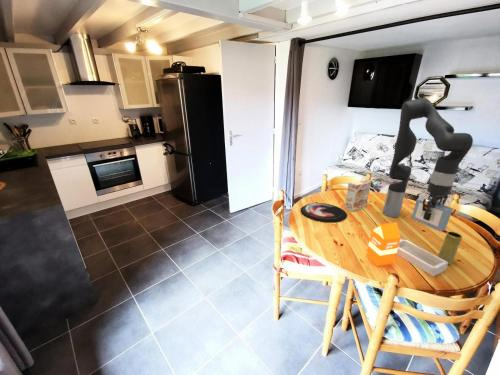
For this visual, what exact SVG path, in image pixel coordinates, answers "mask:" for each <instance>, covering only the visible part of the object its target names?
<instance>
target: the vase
mask: <svg viewBox="0 0 500 375" xmlns="http://www.w3.org/2000/svg"><path fill="white" fill-rule="evenodd" d="M462 238H463V236H462V235H461V234H460V233H458V232H455V231H447V232H446V236H445V237H444V240H443V243H442V245H441V248H440V249H439V252H438V254H437V256H438V257H439V258H441V259H443V260H445V261H447V262H448V265H453V264H454V261H455V257H456V255H457V251H458V248H459V246H460V243H461V241H462Z"/></svg>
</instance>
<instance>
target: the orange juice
mask: <svg viewBox="0 0 500 375" xmlns="http://www.w3.org/2000/svg"><path fill="white" fill-rule="evenodd" d="M401 239H402V237H401V233H400V230H399V226H398V222H397V221H396V222H388V223H381V224H379V225H377V226H376V227H374V228H373V229H371V234H370V238H369V240H368V245H367V247H368V248H367V251H366V256H365V257H367V258H368V259H369V260H370V261H371V262H372V263H373V264H375V265H376V267H379V266H386V265H392V264H394V263H395V259H396V255H397V254H396V253H397V249H398V245H399V242H400V240H401Z"/></svg>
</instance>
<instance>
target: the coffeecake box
mask: <svg viewBox="0 0 500 375" xmlns="http://www.w3.org/2000/svg"><path fill="white" fill-rule="evenodd" d="M371 185H372V180H370V179H366V178H359V179H355V180H352V181H349V182H348V185H347V191H346V196H345V201H344V202H345V203H344V207H343V208H344V209H345V210H348V211H349V212H351V213H354V212H357V211H358V210H361V209H364V208H366V207H367V204H368V199H369V193H370V189H371Z"/></svg>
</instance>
